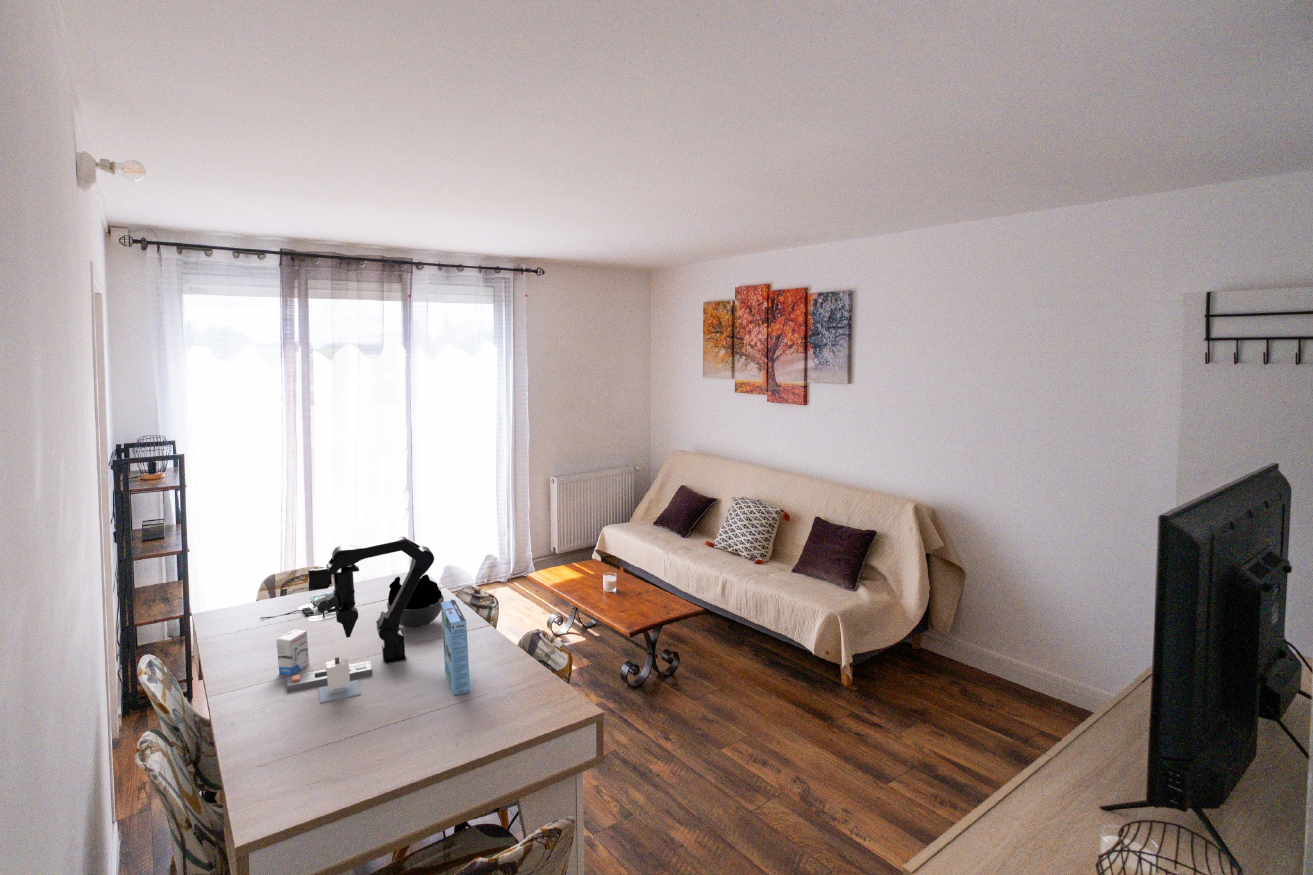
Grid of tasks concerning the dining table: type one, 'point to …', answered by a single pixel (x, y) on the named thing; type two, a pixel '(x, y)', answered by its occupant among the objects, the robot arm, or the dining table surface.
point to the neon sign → (314, 610)
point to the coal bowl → (418, 602)
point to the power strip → (325, 676)
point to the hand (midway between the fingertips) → (347, 632)
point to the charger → (338, 674)
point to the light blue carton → (455, 647)
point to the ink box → (292, 652)
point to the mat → (331, 696)
